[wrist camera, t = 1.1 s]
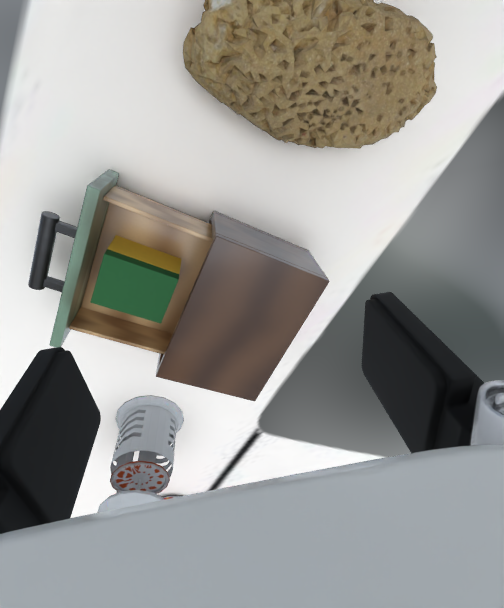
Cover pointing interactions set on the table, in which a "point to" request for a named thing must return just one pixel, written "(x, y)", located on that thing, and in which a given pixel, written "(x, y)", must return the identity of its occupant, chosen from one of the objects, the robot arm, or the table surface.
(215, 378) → the drawer unit
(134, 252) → the dish sponge
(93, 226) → the drawer
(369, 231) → the table surface
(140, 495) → the french press
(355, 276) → the table surface
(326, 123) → the sponge
